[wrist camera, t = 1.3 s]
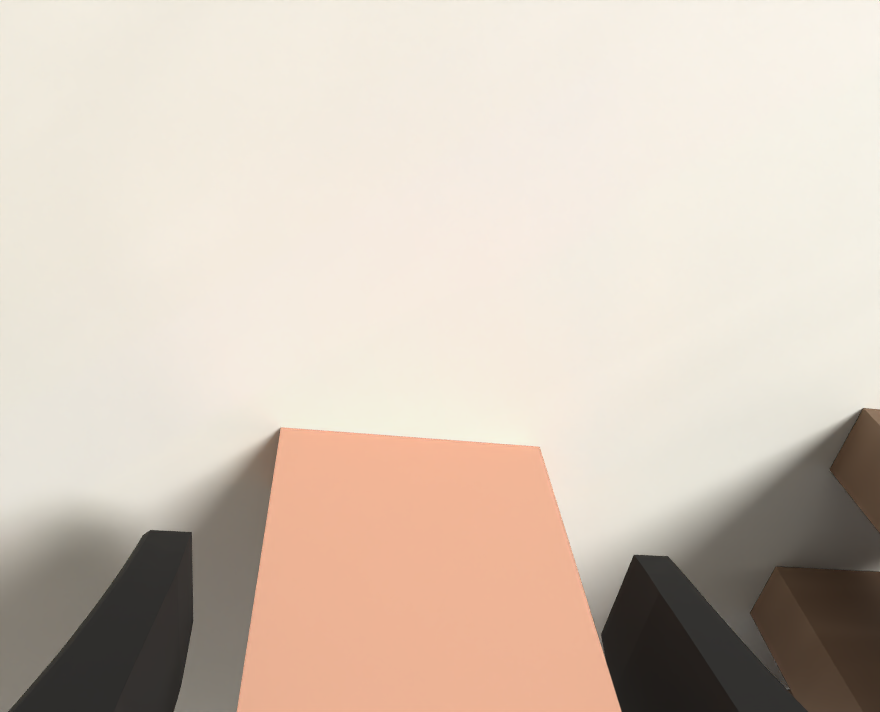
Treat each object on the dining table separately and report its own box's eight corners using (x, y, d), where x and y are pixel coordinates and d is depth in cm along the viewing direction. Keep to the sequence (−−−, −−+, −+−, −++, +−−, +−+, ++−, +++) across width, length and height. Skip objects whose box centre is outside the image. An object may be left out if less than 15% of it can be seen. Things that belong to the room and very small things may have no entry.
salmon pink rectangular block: (281, 427, 14) (201, 933, 7) (539, 446, 15) (686, 921, 8) (276, 492, 15) (203, 1000, 8) (521, 506, 16) (641, 982, 9)
